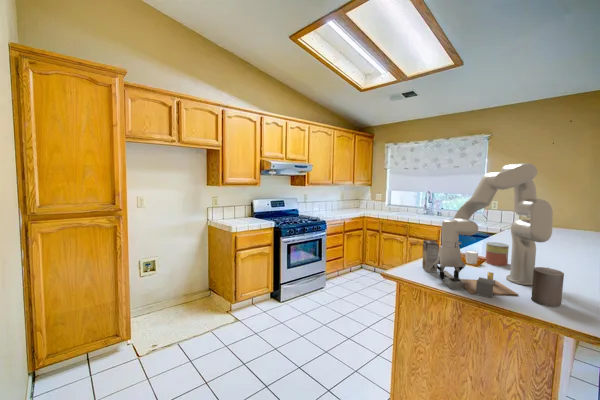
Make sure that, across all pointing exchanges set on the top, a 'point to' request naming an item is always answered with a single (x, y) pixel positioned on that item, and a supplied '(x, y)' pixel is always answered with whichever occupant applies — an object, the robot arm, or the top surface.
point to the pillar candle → (547, 286)
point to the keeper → (485, 287)
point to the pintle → (490, 275)
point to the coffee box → (430, 255)
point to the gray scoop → (453, 281)
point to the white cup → (471, 257)
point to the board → (497, 288)
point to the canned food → (497, 254)
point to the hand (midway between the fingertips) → (448, 278)
